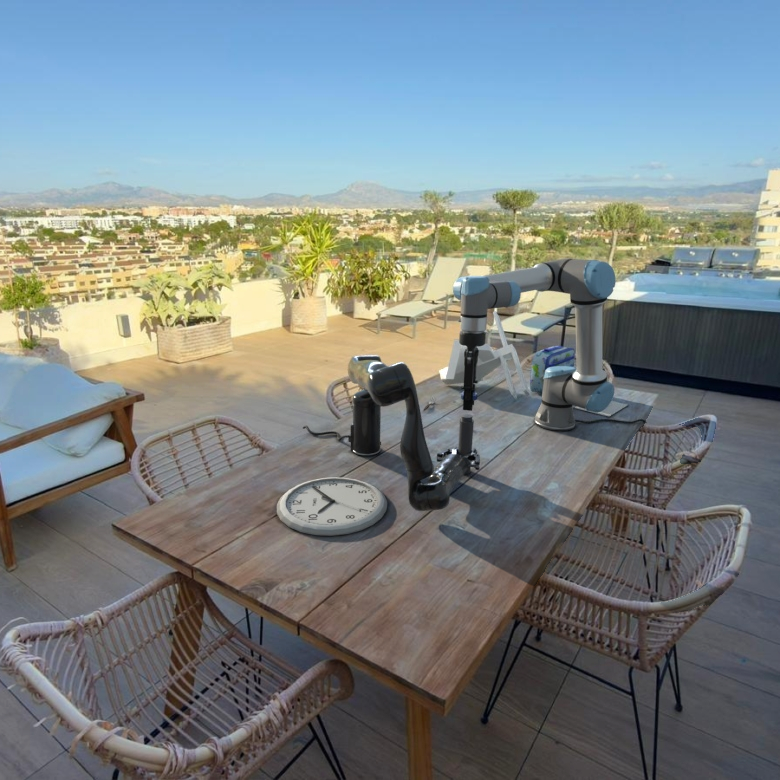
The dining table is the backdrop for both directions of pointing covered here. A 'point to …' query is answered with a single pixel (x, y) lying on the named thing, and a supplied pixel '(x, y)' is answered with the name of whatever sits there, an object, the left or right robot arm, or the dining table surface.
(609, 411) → the grey flat rectangular slab
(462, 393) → the lid
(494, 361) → the white plastic object
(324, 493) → the wall clock
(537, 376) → the lunch box
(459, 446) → the bottle
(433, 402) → the fork
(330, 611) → the dining table surface
